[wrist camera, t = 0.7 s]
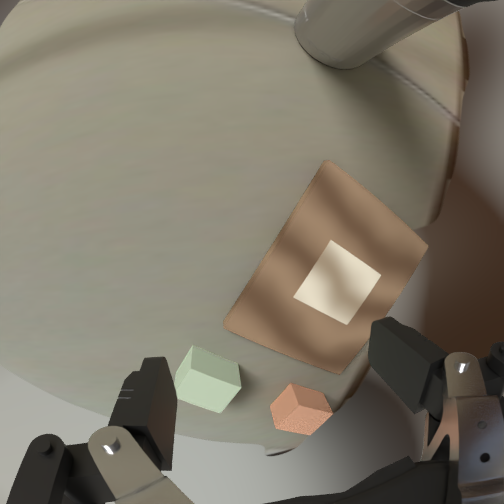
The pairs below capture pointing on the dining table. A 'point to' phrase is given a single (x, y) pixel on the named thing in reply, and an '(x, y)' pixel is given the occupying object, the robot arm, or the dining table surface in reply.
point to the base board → (328, 274)
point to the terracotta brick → (300, 410)
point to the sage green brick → (207, 380)
